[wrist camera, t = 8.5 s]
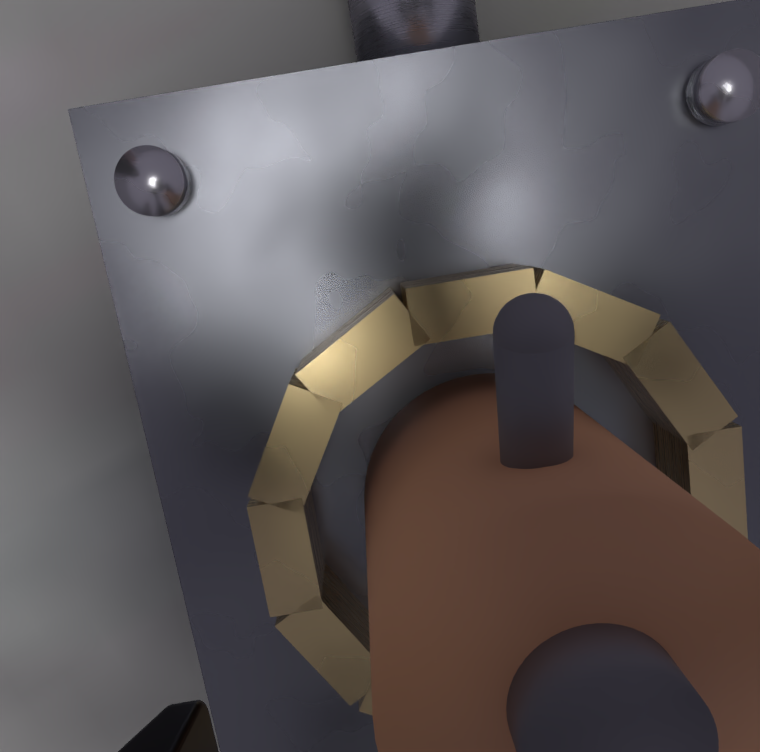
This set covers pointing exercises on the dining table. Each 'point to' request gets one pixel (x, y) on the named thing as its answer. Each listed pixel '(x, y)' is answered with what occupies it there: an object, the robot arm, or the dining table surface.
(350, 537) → the gearbox housing
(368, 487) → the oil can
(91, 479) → the dining table surface
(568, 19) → the dining table surface
